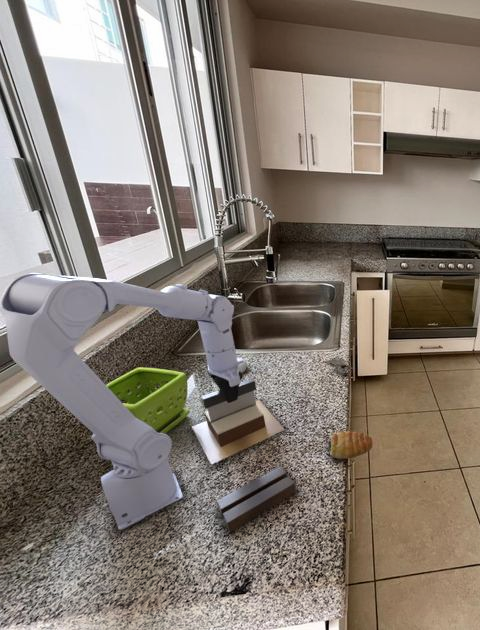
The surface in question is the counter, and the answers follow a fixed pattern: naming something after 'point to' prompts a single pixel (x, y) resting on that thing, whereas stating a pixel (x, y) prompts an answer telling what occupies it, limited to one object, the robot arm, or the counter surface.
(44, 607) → the counter surface
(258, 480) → the stand
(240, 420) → the cake front
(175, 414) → the flower pot
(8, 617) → the counter surface
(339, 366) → the meat cleaver
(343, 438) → the pastry
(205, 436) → the cake board
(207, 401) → the knife
